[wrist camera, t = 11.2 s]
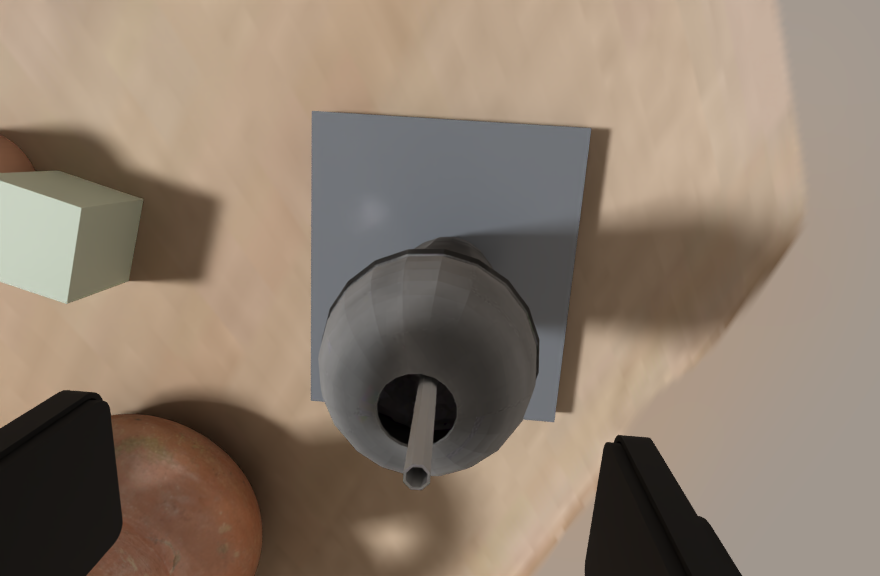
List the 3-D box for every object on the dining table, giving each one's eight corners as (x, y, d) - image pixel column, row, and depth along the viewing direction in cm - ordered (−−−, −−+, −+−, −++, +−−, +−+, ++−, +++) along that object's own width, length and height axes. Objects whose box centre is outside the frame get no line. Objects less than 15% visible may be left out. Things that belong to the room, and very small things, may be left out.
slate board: (318, 112, 29) (311, 111, 27) (586, 129, 28) (591, 128, 27) (316, 391, 33) (310, 400, 31) (551, 412, 32) (554, 422, 31)
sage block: (59, 170, 30) (-20, 173, 26) (144, 199, 30) (81, 207, 26) (47, 253, 32) (-30, 271, 27) (129, 280, 32) (66, 303, 27)
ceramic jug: (334, 544, 35) (243, 796, 21) (171, 635, 38) (-3, 910, 24) (155, 322, 32) (-85, 449, 18) (-8, 438, 35) (-322, 624, 21)
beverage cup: (359, 306, 30) (140, 594, 10) (415, 185, 28) (274, 262, 9) (478, 363, 30) (479, 744, 11) (541, 247, 28) (677, 455, 9)
